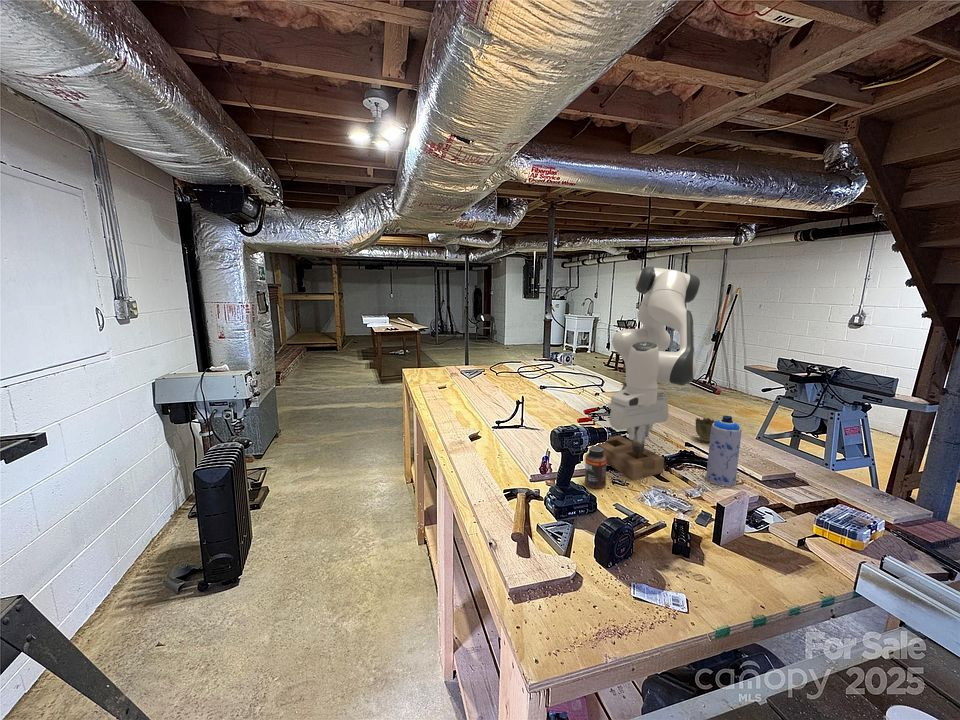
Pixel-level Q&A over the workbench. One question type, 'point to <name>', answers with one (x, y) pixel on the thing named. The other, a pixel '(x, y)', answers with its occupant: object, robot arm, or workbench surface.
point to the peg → (639, 439)
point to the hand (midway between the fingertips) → (638, 438)
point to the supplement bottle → (595, 468)
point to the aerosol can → (723, 452)
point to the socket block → (631, 458)
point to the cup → (704, 428)
